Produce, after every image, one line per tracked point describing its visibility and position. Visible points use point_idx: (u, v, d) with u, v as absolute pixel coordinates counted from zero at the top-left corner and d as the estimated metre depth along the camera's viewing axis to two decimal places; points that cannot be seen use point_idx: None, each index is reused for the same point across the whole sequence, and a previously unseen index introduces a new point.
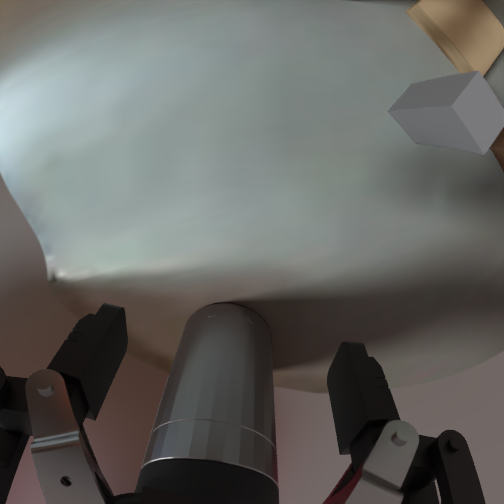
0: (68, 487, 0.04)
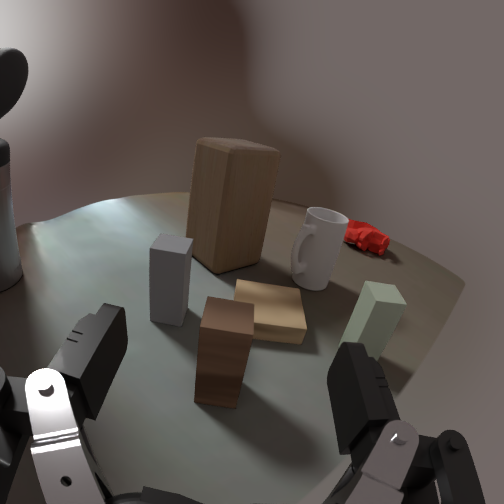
0: (68, 487, 0.04)
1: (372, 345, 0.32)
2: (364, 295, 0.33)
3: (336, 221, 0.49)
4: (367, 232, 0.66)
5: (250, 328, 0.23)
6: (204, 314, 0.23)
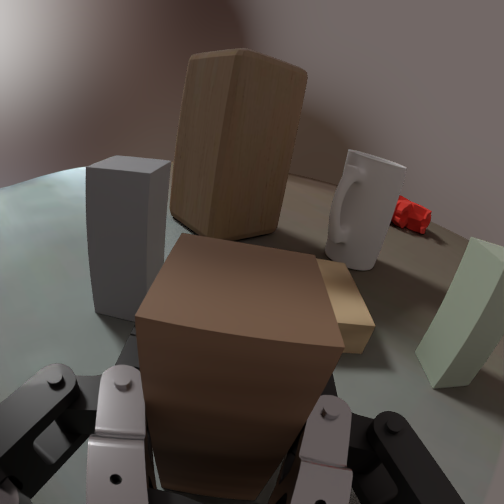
0: (116, 485, 0.04)
1: (480, 347, 0.15)
2: (472, 261, 0.16)
3: None
4: (406, 204, 0.50)
5: (326, 324, 0.06)
6: (161, 276, 0.07)
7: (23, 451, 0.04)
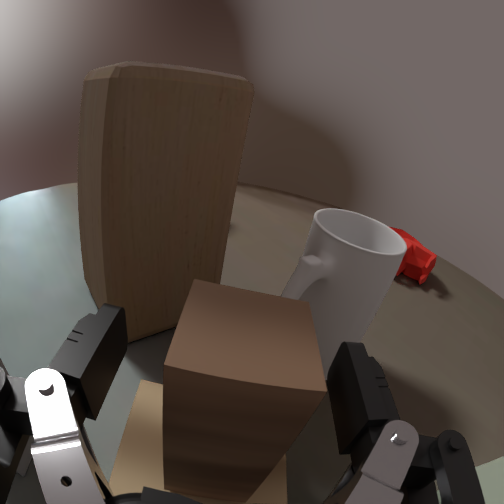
0: (68, 487, 0.04)
1: None
2: None
3: (374, 240, 0.22)
4: None
5: (314, 371, 0.07)
6: (181, 326, 0.08)
7: None
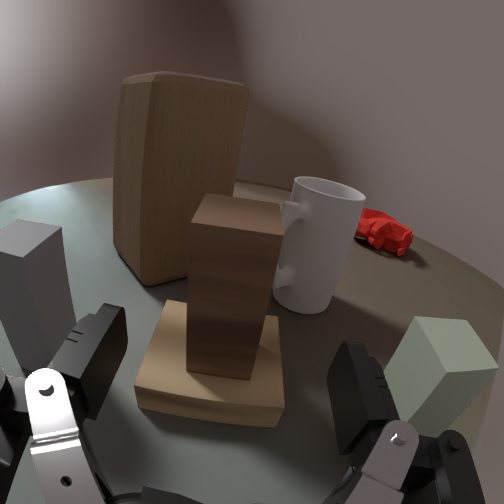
0: (68, 487, 0.04)
1: None
2: (411, 349, 0.13)
3: None
4: (382, 223, 0.47)
5: (276, 228, 0.14)
6: (199, 209, 0.14)
7: None
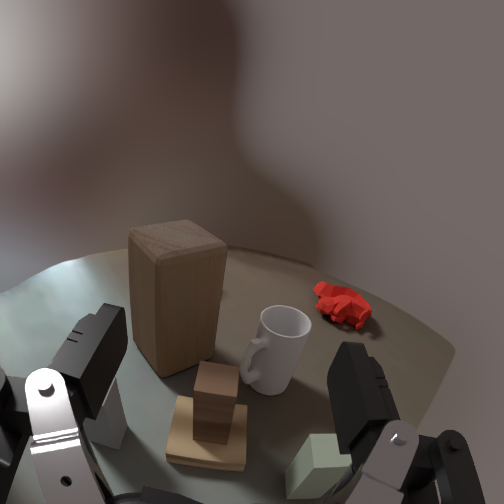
0: (68, 487, 0.04)
1: (315, 488, 0.24)
2: (307, 448, 0.25)
3: (298, 321, 0.41)
4: (344, 304, 0.59)
5: (234, 391, 0.26)
6: (197, 378, 0.27)
7: None
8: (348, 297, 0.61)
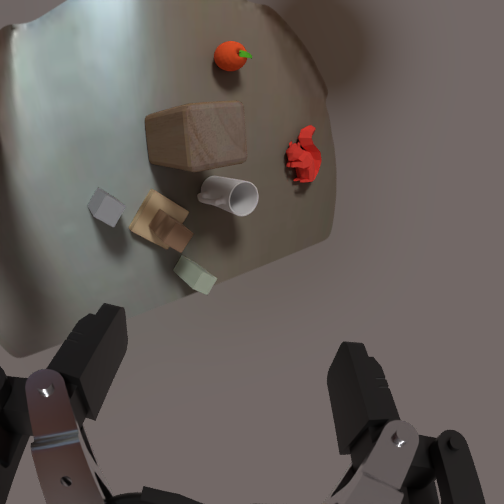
0: (68, 487, 0.04)
1: None
2: (197, 273, 0.60)
3: (252, 194, 0.60)
4: (302, 166, 0.74)
5: (182, 249, 0.52)
6: (168, 235, 0.50)
7: None
8: (310, 161, 0.75)
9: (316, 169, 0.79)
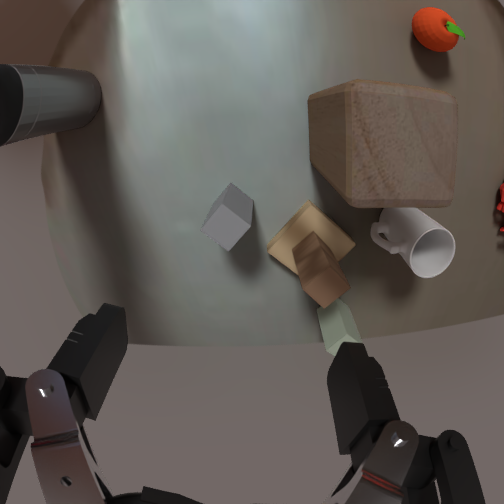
0: (68, 487, 0.04)
1: None
2: (339, 332, 0.41)
3: (447, 247, 0.33)
4: None
5: (327, 304, 0.34)
6: (313, 281, 0.33)
7: None
8: None
9: None
